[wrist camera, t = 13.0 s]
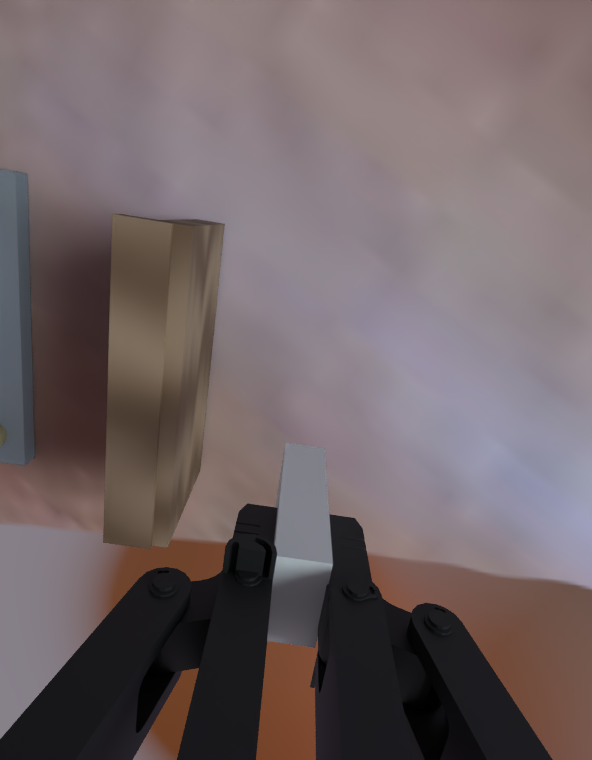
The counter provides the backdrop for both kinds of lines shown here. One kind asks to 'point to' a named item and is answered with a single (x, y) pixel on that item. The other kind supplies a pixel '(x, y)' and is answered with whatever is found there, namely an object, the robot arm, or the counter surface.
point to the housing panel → (157, 371)
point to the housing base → (15, 323)
